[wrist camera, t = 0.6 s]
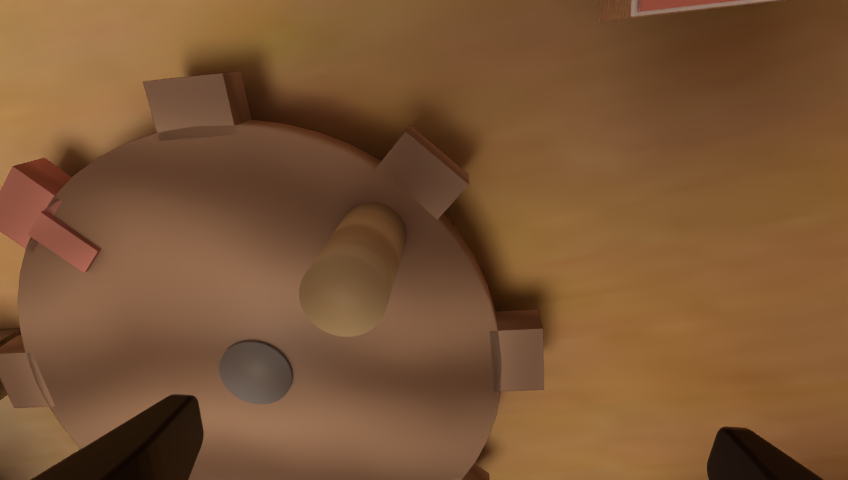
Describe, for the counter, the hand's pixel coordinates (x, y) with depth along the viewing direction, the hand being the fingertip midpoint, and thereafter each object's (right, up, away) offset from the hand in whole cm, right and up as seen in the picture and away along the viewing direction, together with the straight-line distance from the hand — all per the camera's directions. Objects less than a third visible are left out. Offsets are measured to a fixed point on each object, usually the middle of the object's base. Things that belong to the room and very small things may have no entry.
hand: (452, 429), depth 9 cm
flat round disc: (-7, -1, +14) cm, 16 cm away
